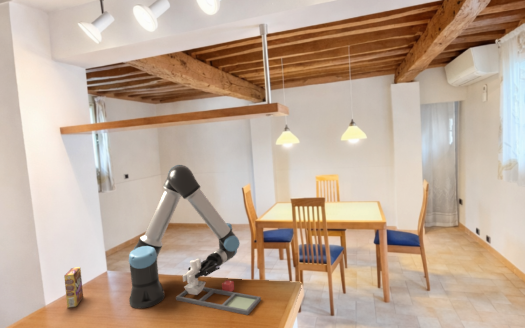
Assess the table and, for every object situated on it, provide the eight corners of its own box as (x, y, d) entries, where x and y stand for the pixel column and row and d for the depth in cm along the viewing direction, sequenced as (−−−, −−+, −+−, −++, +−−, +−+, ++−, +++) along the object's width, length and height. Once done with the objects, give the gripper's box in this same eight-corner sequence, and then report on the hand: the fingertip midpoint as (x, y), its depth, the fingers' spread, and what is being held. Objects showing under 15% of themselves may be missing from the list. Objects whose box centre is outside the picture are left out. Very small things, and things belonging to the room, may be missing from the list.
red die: (222, 292, 145) (221, 283, 145) (227, 288, 149) (226, 279, 149) (229, 293, 144) (229, 284, 143) (234, 289, 147) (233, 280, 147)
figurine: (182, 296, 140) (180, 263, 139) (194, 286, 149) (192, 256, 148) (196, 298, 138) (194, 265, 136) (207, 288, 146) (205, 257, 145)
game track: (176, 300, 141) (175, 296, 141) (192, 287, 152) (192, 284, 152) (247, 315, 125) (247, 311, 125) (260, 300, 135) (260, 296, 135)
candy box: (77, 306, 142) (73, 274, 140) (67, 308, 141) (62, 275, 140) (84, 297, 150) (80, 266, 149) (74, 298, 149) (70, 267, 148)
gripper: (230, 268, 156) (201, 290, 135) (204, 264, 162) (173, 284, 141) (229, 253, 155) (200, 273, 134) (203, 250, 162) (171, 268, 141)
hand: (186, 279), depth 138 cm, fingers closed on figurine, 3 cm apart
